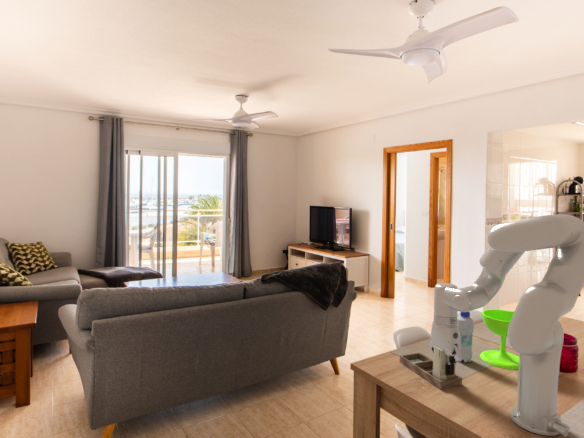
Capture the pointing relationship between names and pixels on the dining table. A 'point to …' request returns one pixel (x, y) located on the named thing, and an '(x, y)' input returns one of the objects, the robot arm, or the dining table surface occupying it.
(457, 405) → the dining table surface
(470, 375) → the dining table surface
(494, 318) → the wineglass
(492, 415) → the dining table surface
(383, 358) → the dining table surface
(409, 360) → the mat
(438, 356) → the skincare box
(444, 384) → the notch rack
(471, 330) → the bottle
